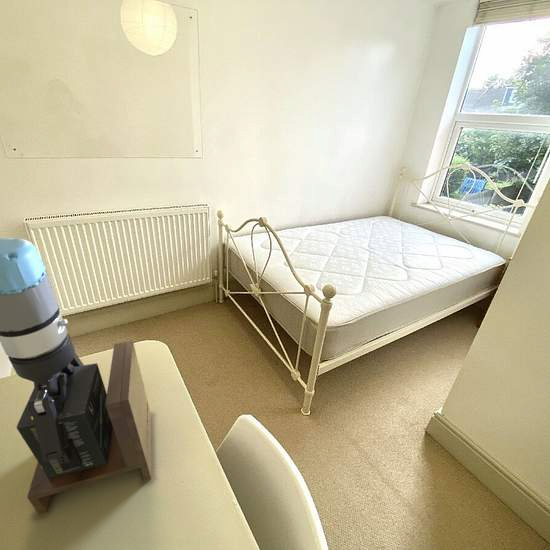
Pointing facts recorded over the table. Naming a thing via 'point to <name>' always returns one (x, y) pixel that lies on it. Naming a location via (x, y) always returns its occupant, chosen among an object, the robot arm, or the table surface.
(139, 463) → the wooden display stand
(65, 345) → the robot arm
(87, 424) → the tampon box
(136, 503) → the table surface
